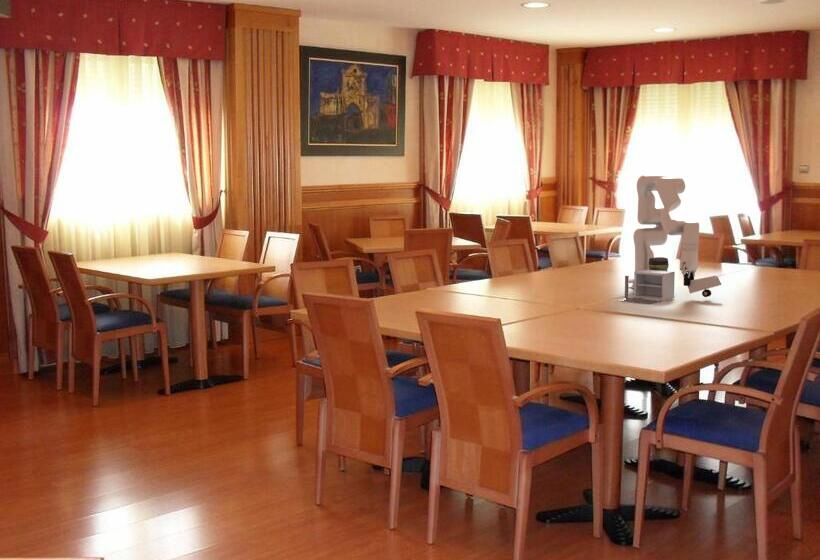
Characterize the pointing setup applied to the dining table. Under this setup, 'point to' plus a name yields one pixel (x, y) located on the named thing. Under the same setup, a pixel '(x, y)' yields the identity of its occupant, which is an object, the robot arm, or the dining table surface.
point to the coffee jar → (658, 264)
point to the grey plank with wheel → (704, 285)
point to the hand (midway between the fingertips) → (688, 284)
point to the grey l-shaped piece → (643, 301)
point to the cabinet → (654, 285)
